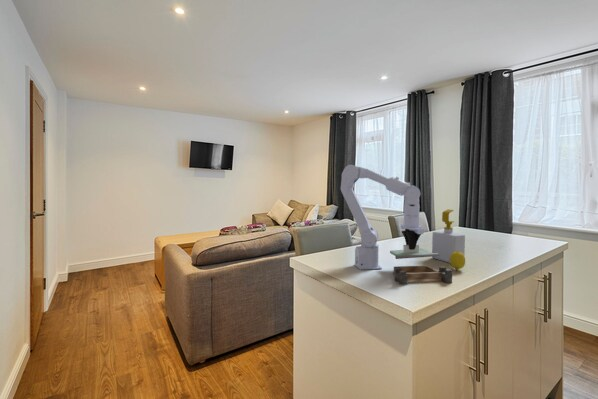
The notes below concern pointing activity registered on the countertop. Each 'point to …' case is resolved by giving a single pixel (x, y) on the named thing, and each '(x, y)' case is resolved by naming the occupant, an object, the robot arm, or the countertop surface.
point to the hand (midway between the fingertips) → (410, 248)
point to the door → (412, 253)
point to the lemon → (457, 260)
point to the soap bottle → (447, 240)
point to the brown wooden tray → (421, 274)
